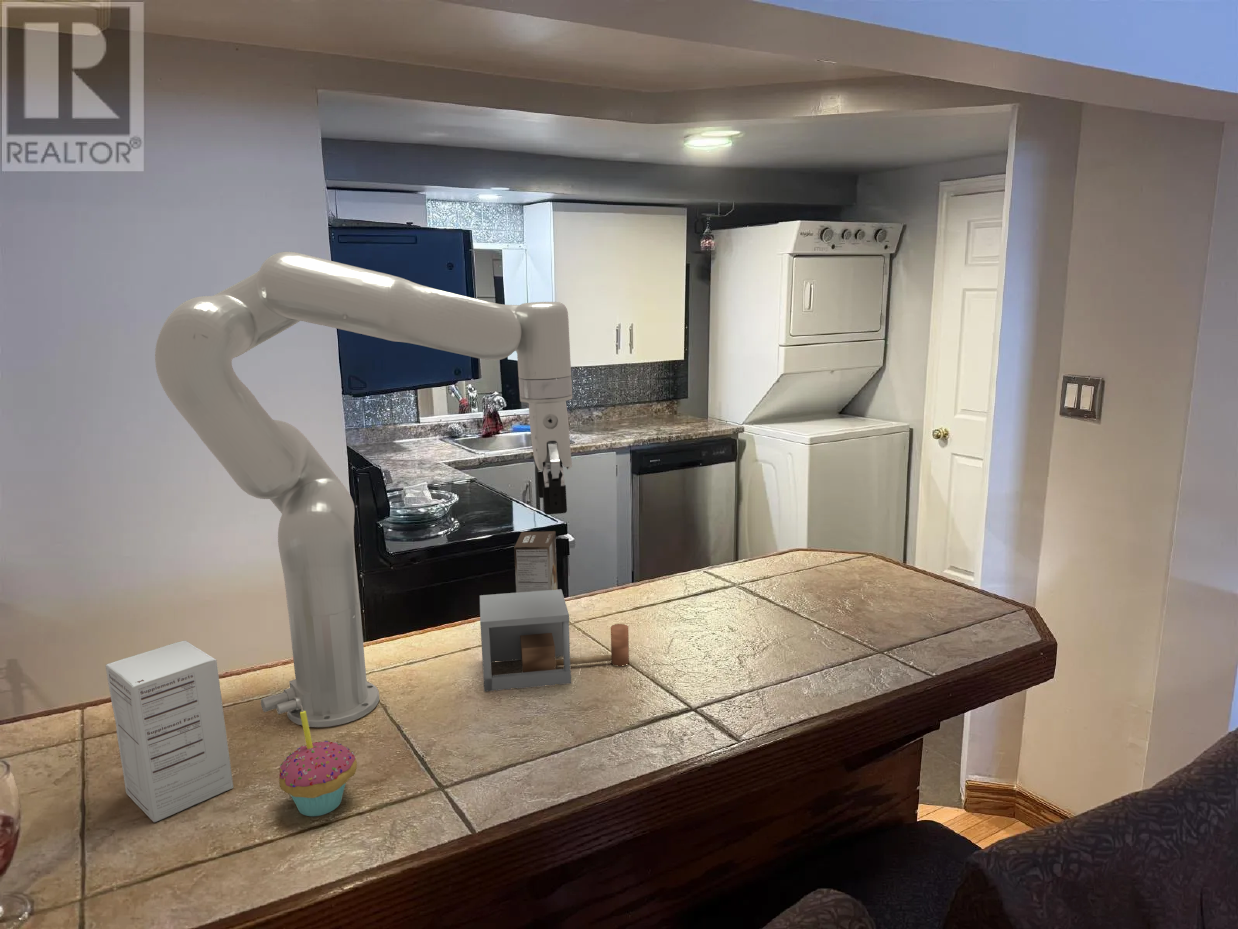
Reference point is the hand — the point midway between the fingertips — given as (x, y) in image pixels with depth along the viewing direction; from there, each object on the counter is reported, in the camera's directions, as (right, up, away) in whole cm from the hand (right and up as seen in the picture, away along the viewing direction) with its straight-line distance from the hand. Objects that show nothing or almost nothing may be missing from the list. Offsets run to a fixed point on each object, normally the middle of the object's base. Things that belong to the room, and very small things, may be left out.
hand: (552, 504), depth 123 cm
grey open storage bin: (-5, -26, +7) cm, 28 cm away
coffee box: (-4, -23, +25) cm, 34 cm away
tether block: (+3, -26, +8) cm, 27 cm away
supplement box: (-43, -34, -23) cm, 59 cm away
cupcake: (-25, -34, -26) cm, 49 cm away
